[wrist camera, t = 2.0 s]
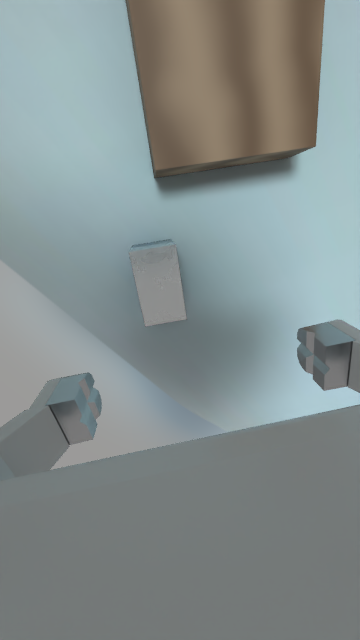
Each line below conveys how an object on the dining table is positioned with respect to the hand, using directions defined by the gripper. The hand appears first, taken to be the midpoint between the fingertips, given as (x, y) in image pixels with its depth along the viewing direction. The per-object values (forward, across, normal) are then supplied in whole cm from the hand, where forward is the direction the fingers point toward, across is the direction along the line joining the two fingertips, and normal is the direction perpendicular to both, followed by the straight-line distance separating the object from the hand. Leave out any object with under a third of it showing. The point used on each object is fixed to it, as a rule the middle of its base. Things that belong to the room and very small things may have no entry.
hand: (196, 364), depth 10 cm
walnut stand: (+23, -8, -16) cm, 29 cm away
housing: (+23, +2, +1) cm, 23 cm away
